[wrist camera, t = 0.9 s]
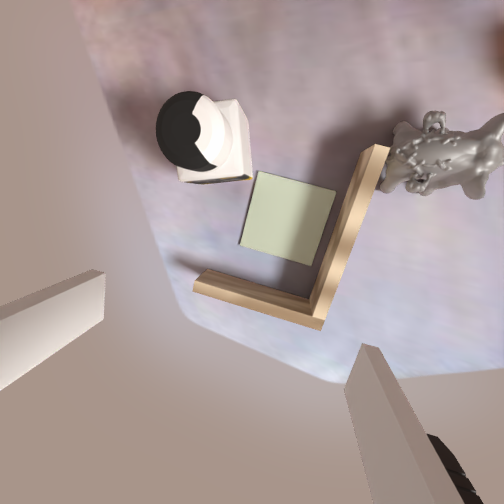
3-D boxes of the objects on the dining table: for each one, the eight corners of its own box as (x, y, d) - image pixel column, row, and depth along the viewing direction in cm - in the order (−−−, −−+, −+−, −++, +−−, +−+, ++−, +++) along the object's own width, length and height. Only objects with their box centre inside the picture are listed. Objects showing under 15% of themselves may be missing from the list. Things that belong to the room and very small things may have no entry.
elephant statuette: (371, 131, 29) (394, 112, 21) (493, 99, 26) (567, 64, 19) (379, 209, 31) (403, 216, 23) (494, 187, 28) (562, 187, 20)
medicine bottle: (200, 184, 33) (152, 179, 21) (193, 126, 31) (137, 86, 20) (253, 179, 32) (233, 170, 20) (248, 119, 30) (223, 71, 18)
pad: (258, 171, 31) (258, 171, 31) (336, 191, 30) (336, 191, 30) (240, 244, 34) (239, 245, 33) (311, 265, 33) (311, 266, 33)
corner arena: (240, 122, 30) (231, 108, 25) (373, 155, 29) (390, 147, 24) (205, 278, 36) (192, 291, 31) (316, 311, 34) (320, 331, 30)
